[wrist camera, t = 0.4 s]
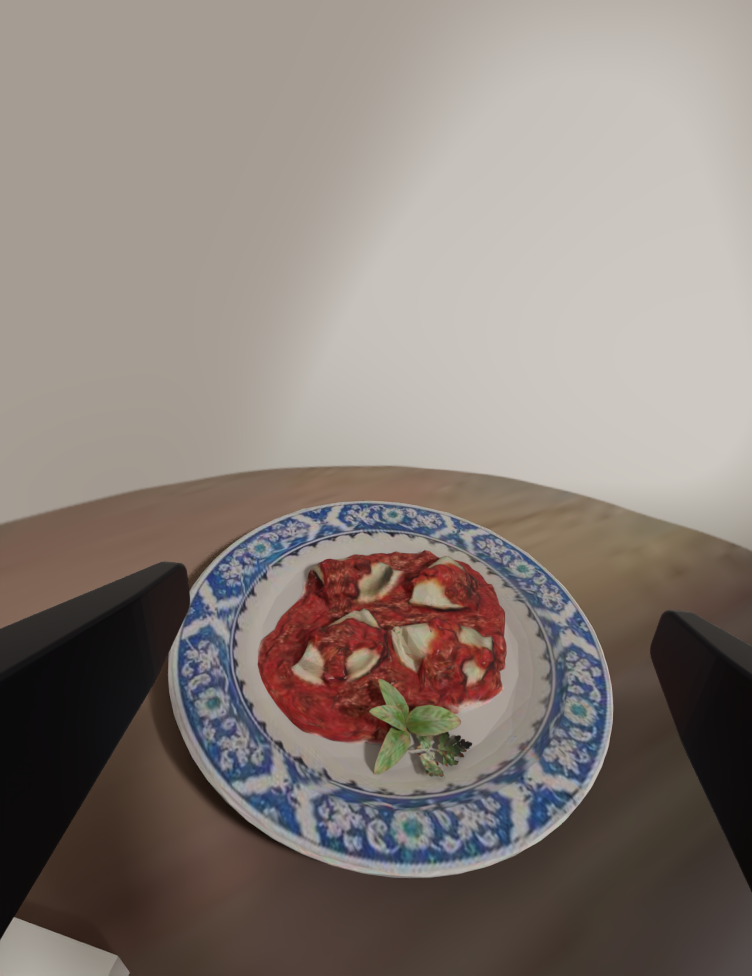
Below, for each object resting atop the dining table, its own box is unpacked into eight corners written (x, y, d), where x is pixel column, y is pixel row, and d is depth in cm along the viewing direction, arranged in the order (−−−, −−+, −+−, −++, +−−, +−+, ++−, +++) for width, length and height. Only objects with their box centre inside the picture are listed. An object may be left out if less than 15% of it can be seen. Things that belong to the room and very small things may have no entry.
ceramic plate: (261, 502, 41) (259, 473, 40) (550, 545, 40) (560, 517, 38) (59, 834, 19) (38, 801, 18) (681, 955, 18) (718, 930, 16)
